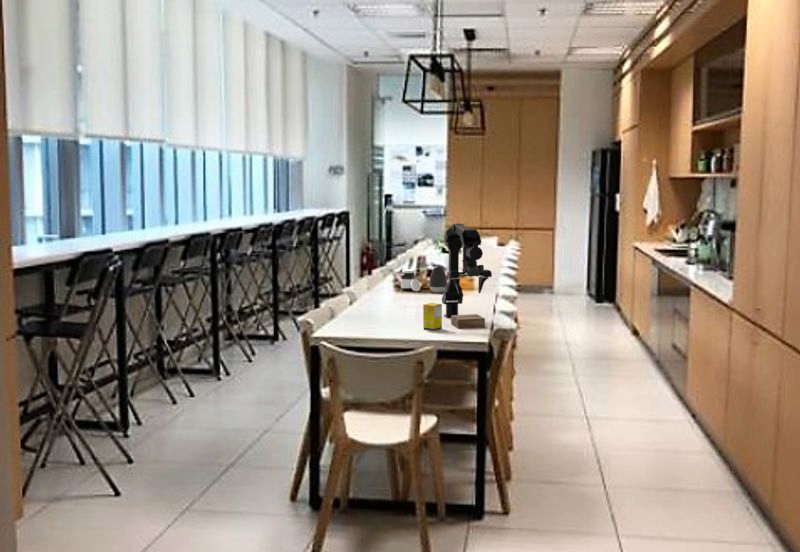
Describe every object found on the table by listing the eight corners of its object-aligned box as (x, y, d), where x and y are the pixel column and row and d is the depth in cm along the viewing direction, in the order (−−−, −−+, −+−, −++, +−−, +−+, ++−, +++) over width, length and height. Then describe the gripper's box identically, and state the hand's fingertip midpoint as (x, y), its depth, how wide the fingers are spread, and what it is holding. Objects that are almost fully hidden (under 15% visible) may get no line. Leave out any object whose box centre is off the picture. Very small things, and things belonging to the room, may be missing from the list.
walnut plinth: (451, 324, 411) (451, 315, 410) (476, 323, 413) (476, 314, 413) (458, 328, 399) (458, 319, 398) (484, 327, 401) (484, 318, 401)
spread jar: (404, 288, 531) (403, 268, 530) (423, 289, 528) (423, 269, 527) (398, 291, 520) (398, 271, 518) (418, 292, 517) (417, 271, 515)
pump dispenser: (426, 293, 512) (426, 266, 510) (433, 290, 522) (432, 264, 520) (443, 294, 508) (443, 266, 506) (450, 291, 518) (450, 264, 516)
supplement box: (431, 327, 403) (431, 302, 401) (442, 328, 399) (442, 303, 398) (422, 329, 398) (422, 304, 397) (433, 330, 394) (433, 305, 393)
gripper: (453, 260, 390) (453, 296, 392) (495, 259, 394) (495, 295, 396) (446, 257, 401) (446, 293, 403) (487, 256, 405) (487, 291, 407)
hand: (469, 293), depth 402 cm, fingers open, 9 cm apart
